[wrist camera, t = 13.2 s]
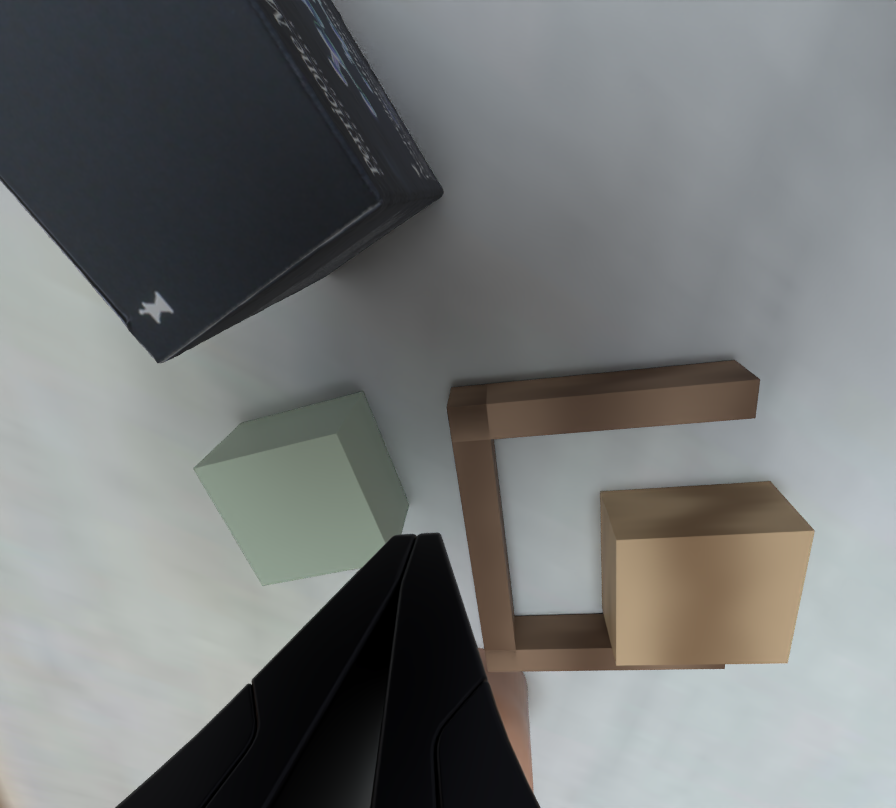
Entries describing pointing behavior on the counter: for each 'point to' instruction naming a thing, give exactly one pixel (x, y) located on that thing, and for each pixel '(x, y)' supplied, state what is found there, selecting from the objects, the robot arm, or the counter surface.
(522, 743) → the tan round cylinder
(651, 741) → the counter surface
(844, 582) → the counter surface
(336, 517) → the matte sage squarish block
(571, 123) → the counter surface
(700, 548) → the oak block
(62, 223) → the box
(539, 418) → the walnut bay
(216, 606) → the counter surface
